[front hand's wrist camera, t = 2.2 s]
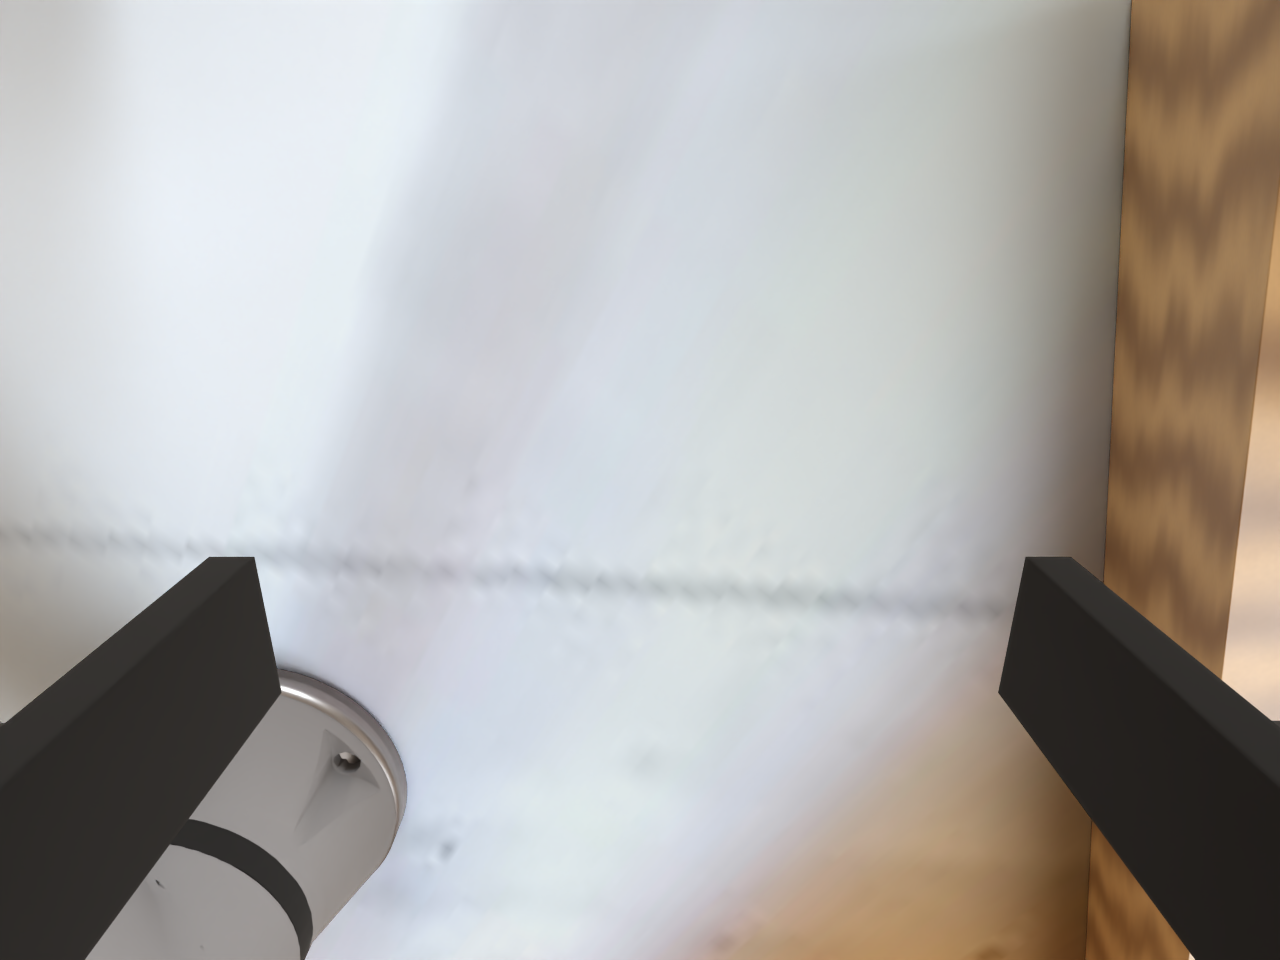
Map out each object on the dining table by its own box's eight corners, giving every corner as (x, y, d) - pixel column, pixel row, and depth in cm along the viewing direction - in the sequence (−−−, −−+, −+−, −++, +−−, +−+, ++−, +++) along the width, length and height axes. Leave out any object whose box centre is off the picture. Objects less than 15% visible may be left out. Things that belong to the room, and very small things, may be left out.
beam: (1159, 1008, 49) (1256, 1159, 41) (1082, 1017, 49) (1163, 1168, 41) (1265, -36, 28) (1497, -126, 21) (1131, -10, 29) (1310, -88, 21)
